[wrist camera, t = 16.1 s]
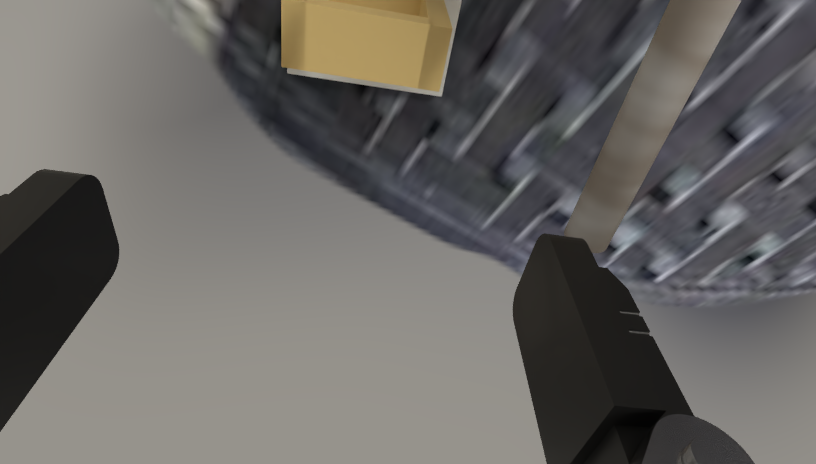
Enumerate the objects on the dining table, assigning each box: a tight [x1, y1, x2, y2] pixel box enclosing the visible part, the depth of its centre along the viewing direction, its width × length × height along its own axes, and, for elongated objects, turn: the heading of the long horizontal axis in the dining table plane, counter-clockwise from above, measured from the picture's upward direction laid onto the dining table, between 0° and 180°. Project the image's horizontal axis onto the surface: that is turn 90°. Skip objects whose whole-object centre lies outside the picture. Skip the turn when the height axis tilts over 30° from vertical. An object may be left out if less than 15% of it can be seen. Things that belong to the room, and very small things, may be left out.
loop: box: [281, 0, 453, 92], centre depth 21 cm, size 6×2×8 cm, turn 81°
